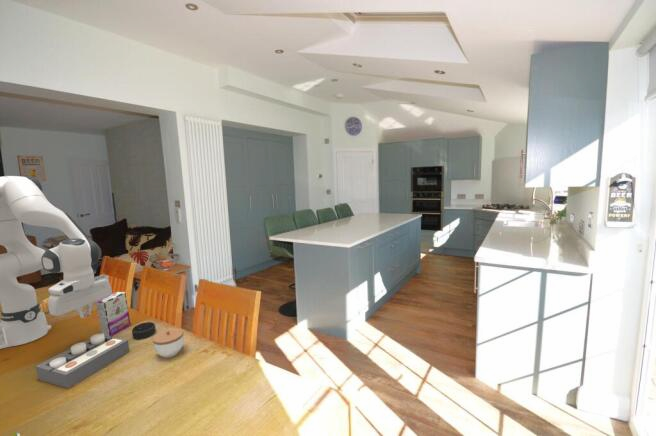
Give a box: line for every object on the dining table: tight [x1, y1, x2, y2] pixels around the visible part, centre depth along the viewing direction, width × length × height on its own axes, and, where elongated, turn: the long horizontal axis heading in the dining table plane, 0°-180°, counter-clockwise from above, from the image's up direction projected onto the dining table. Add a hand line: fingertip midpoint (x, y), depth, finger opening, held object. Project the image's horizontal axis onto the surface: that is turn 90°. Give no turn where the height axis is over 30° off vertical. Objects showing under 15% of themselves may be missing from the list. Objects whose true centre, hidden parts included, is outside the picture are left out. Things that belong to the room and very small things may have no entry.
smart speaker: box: [131, 321, 157, 340], centre depth 137 cm, size 9×9×4 cm
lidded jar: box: [152, 327, 185, 359], centre depth 122 cm, size 11×11×9 cm
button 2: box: [70, 341, 87, 357], centre depth 117 cm, size 4×4×4 cm
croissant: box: [38, 297, 49, 314], centre depth 166 cm, size 21×10×8 cm, turn 152°
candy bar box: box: [95, 291, 131, 337], centre depth 140 cm, size 11×5×16 cm, turn 168°
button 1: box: [49, 357, 67, 369], centre depth 110 cm, size 4×4×4 cm
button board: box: [35, 335, 130, 389], centre depth 116 cm, size 16×22×6 cm
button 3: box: [90, 332, 105, 347], centre depth 123 cm, size 4×4×4 cm
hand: (85, 316), depth 119 cm, fingers closed
